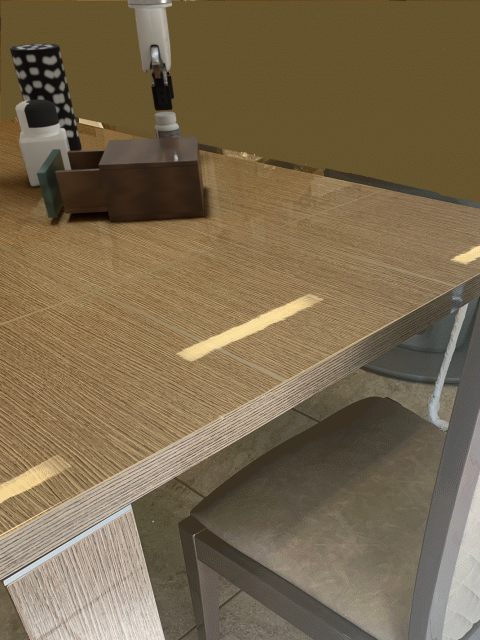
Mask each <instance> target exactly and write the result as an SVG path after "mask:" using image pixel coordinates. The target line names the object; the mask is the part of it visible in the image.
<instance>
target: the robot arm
mask: <svg viewBox="0 0 480 640" xmlns="http://www.w3.org/2000/svg"><path fill="white" fill-rule="evenodd" d="M126 1H127V6H128V8H129V9H134V14H135V24H136V32H137V40H138V47H139V54H140V58H141V59H140V60H141V61H140V62H141V69H142V72H143V73H144V74H147V73H148V72H150V81H151V86H150V88H151V93H152V94H151V95H152V101H153V107H154V110H155V112H156V111H157V112H158V111H160V112H163V111H172V110H173V100H174V98H175V94H174V87H173V78H172V75H171V72H170V71H171V67H172V55H171V54H172V53H171V52H172V51H171V41H170V32H169V24H168V17H167V8H171V7H172V6H173V3H172V2H173V1H172V0H126Z"/></svg>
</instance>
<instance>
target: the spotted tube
mask: <svg viewBox="0 0 480 640" xmlns="http://www.w3.org/2000/svg"><path fill="white" fill-rule="evenodd" d="M9 51H10V54H11V59H12V63H13V66H14V70H15V73H16V78H17V82H18V86H19V90H20V93H21V97H22V102H23V101H28V100H48V101H50V102H53V103H54V104H55V106H56V111H57V115H58V119H59V124H60V128H64V129H65V131H66V135H67V139H68V144H69V148H70V151H81V150H83V148H82V142H81V138H80V134H79V130H78V129H79V128H78V124H77V121H76V116H75V111H74V107H73V101H72V97H71V93H70V92H71V91H70V89H69V85H68V80H67V74H66V71H65V70H66V69H65V65H64V61H63V56H62V52H61V47H60V45H59V44H56V43H29V44H18V45H14V46H11V47H9Z"/></svg>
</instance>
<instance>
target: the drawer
mask: <svg viewBox="0 0 480 640" xmlns="http://www.w3.org/2000/svg"><path fill="white" fill-rule="evenodd" d="M105 149H106V148H105ZM105 149H104V148H103V149H86V150H85V149H84V150H83V149H82V150H81V151H68V152H67V154H68V158H69V162H70V167H71V170H65V168H64V164H63V159H62V155H61V151H60V149H53V150H52V151H51V153H50V154H49V156H48V157H47V159H46V160H45V162H44V163H43V165H42V166H41V167H40V169H39V170H38V172H37V176H38V180H39V184H40V186H39V187H40V191H41V195H42V198H43V203H44V207H45V210H46V213H47V217H48V219H56V218H57V217H58V215H59V214H60V211H61V210H62V207H63V210H64V214H66V215H70V214H85V213H86V214H88V213H104V212H105V213H106V212H107V213H108V209H107V204H106V199H105V195H104V190H103V185H102V180H101V175H100V170H99V166H98V165H99V163H100V160H101V158H102V156H103V153H104V151H105Z"/></svg>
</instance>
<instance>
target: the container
mask: <svg viewBox="0 0 480 640" xmlns="http://www.w3.org/2000/svg"><path fill="white" fill-rule="evenodd" d="M14 110H15V111H16V112H15V113H16V116H17V120H18V124H19V127H20V133H19V139H18V145H19V148H20V152H21V155H22V159H23V163H24V167H25V170H26V173H27V177H28V180H29V184H30V186H31V187H40V184H39V180H38V176H37V172H38V170H39V169H40V167H41V166H42V165H43V163H44V162H45V160H46V159H47V157H48V156H49V154H50V153H51V151H52V150H53V149H60V151H61V155H62V159H63V164H64V168H65V170H71V167H70V162H69V158H68V154H67V152H68V151H70V148H69V144H68V139H67V135H66V131H65V129H64V128H60V124H59V119H58V115H57V111H56V106H55V104H54V103H53V102H50V101H48V100H28V101H23V100H22V101H21V102H19V103H18V104H16V106H15V108H14Z"/></svg>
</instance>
